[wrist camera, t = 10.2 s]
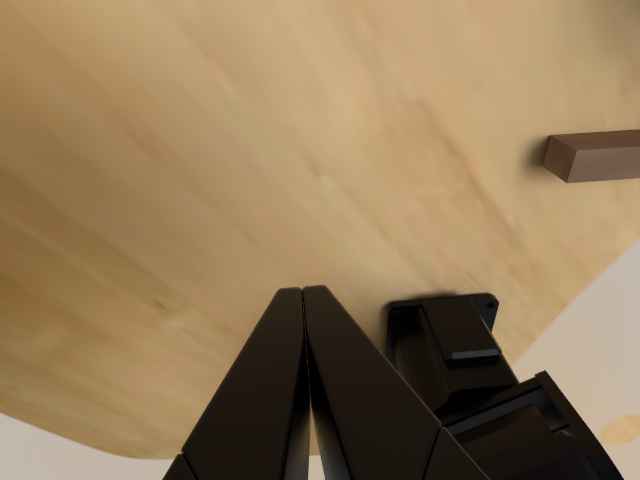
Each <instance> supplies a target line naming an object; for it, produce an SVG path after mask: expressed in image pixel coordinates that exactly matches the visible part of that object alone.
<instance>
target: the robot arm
mask: <svg viewBox="0 0 640 480" xmlns="http://www.w3.org/2000/svg"><path fill="white" fill-rule="evenodd" d="M302 294H303V297H302ZM489 302H490V303H489ZM488 303H489V304H488ZM498 306H499V302H498V300H497V299H496V297H495V296H494V295H492V294H485V295H473V296H462V297H450V298H438V299H426V300H414V301H402V302H394V303H391V304H389V305H388V306H387V309H386V321H385V335H384V349H383V353H382V352H381V351H380V350H379V349H378V347H377V346H376V345H375V344H374V343H373V341H372V340H371V339H370V338H369V337H368V335H367V334H366V333H365V332H364V331H363V330H362V328H361V327H360V326H359V325H358V324H357V322H356V321H355V320H354V319H353V318H352V316H351V315H350V314H349V313H348V312H347V311H346V309H345V308H344V307H343V306H342V305H341V303H340V302H339V301H338V300H337V299H336V297H335V296H334V295H333V294H332V293H331V292H330V290H329V289H328V288H327V287H326V286H324V285H316V286H305V287H304V288H303V289H301V288H300V287H291V288H281V289H279V290H278V291H277V292H276V294H275V295H274V297H273V299H272V300H271V302H270V304H269V305H268V307H267V309H266V310H265V312H264V314H263V315H262V317H261V318H260V320H259V322H258V323H257V325H256V327H255V328H254V330H253V332H252V333H251V335H250V337H249V338H248V340H247V342H246V343H245V345H244V346H243V348H242V350H241V351H240V353H239V355H238V356H237V358H236V360H235V361H234V363H233V365H232V366H231V368H230V369H229V371H228V373H227V374H226V376H225V378H224V379H223V381H222V383H221V384H220V386H219V388H218V389H217V391H216V393H215V394H214V396H213V397H212V399H211V401H210V402H209V404H208V406H207V407H206V409H205V411H204V412H203V414H202V416H201V417H200V419H199V420H198V422H197V424H196V425H195V427H194V429H193V430H192V432H191V434H190V435H189V437H188V439H187V440H186V442H185V444H184V445H183V447H182V449H181V452H182V454H178V455H177V456H176V458H175V459H174V461H173V463H172V465H171V466H170V468H169V470H168V471H167V473H166V475H165V476H164V478H163V479H162V480H308V466H309V446H310V424H311V407H312V415H313V420H314V426H315V431H316V436H317V441H318V446H319V451H320V456H321V461H322V466H323V470H324V475H325V480H624V479H623V477H622V476H621V474H620V473H619V471H618V469H617V468H616V466H615V465H614V463H613V462H612V460H611V459H610V457H609V456H608V454H607V453H606V451H605V450H604V448H603V447H602V445H601V444H600V443H599V441H598V440H597V438H596V437H595V436H594V434H593V433H592V432H591V430H590V429H589V428H588V426H587V425H586V424H585V422H584V421H583V420H582V418H581V417H580V416H579V414H578V413H577V412H576V410H575V409H574V408H573V406H572V405H571V404H570V402H569V401H568V400H567V398H566V397H565V396H564V394H563V393H562V392H561V390H560V389H559V388H558V386H557V385H556V384H555V382H554V381H553V380H552V378H551V377H550V376H549V374H548V373H547V372H546V370H544V371H542V372H540V373H537V374H535V377H533V378H531V379H528V380H526V381H524V382H521V383H519V381H518V379H517V378H516V376H515V374H514V373H513V371H512V369H511V368H510V366H509V364H508V362H507V361H506V359H505V357H504V356H503V354H502V351H501V348H500V347H499V345H498V343H497V342H496V340H495V338H494V337H493V335H492V333H491V332H492V328H493V325H494V321H495V317H496V313H497V309H498ZM303 307H304V310H303ZM395 310H398V311H396V312H393V311H395ZM304 320H305V324H304ZM305 333H306V337H305ZM306 346H307V350H306ZM307 359H308V363H307ZM308 372H309V376H308ZM309 385H310V389H309ZM310 398H311V406H310Z"/></svg>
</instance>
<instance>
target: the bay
mask: <svg viewBox="0 0 640 480" xmlns="http://www.w3.org/2000/svg"><path fill="white" fill-rule="evenodd" d="M542 166H543V167H545V168H546V169H548V170H549V171H550V172H552V173H553V174H555V175H556V176H558V177H559V178H560V179H562V180H563V181H565V182H566V183H575V182H589V181H604V180H618V179H632V178H640V130H628V131H612V132H596V133H580V134H565V135H551V136H550V140H549V143H548V147H547V151H546V154H545V158H544V162H543V165H542Z"/></svg>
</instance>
